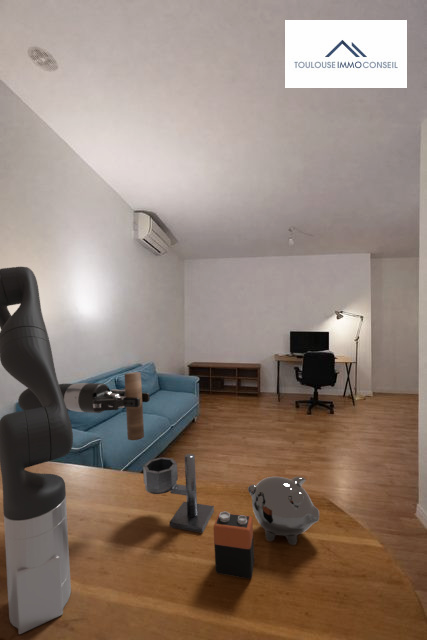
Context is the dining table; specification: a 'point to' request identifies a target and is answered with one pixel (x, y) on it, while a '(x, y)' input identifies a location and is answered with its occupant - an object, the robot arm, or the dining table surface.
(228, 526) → the battery
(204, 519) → the cup bracket
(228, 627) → the dining table surface
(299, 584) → the dining table surface
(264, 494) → the piggy bank
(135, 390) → the rail post
